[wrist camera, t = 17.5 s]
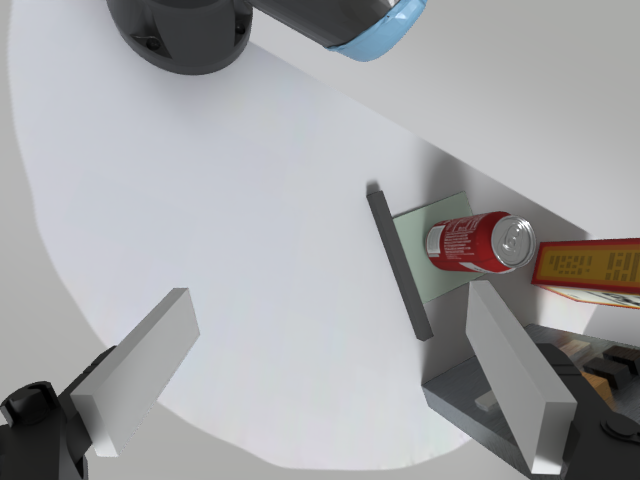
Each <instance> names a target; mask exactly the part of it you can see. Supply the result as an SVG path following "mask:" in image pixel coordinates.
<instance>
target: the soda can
mask: <svg viewBox="0 0 640 480" xmlns="http://www.w3.org/2000/svg"><path fill="white" fill-rule="evenodd" d="M535 249H536V237H535V233H534V231H533V228H532V227H531V225H530V224H529V222H528V221H527V220H525V219H524V218H522V217H520V216H517V215H511V214H509V213H506V212H501V211H498V212H491V213H485V214H480V215H474V216H468V217H462V218H456V219H451V220H445V221H440V222H438V223H436V224H434V225H433V226H432V227H431V228H430V230H429V231H428V233H427V235H426V239H425V251H426V254H427V257H428V259H429V260H430V262H431V263H432V264H433V265H434V266H435V267H437V268H438V269H441V270H445V271H461V272H480V273H499V274H503V273H509V272H511V271H513V270H515V269H516V268H520V267H523V266H525V265H526V264H528V263H529V262H530V260H531V259H532V257H533V255H534V253H535Z"/></svg>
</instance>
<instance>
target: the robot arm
mask: <svg viewBox="0 0 640 480" xmlns="http://www.w3.org/2000/svg"><path fill="white" fill-rule="evenodd" d="M106 1H107V5H108V8H109V11H110V13H111V15H112V18H113V20H114V22H115V24H116V27H117V28H118V30H119V32H120V34H121V35H122V37H123V38H124V40H125V41H126V42H127V43H128V45H129V46H130V47H131V48H132V49H133V50H134V51H135V52H136V53H137V54H139V55H140V56H141V57H142V58H144V59H145V60H147V61H148V62H150V63H151V64H153V65H155V66H157V67H159V68H161V69H164V70H167V71H170V72H173V73H177V74H183V75H204V74H209V73H213V72H216V71H218V70H221V69H223V68H225V67H227V66H228V65H230V64H231V63H232V62H233V61H235V60H236V59H237V58H238V57H239V55H240V54H241V53H242V52H243V50H244V48H245V47H246V45H247V42H248V40H249V36H250V32H251V25H252V17H253V8H252V7H255V8H257V9H258V10H260V11H262V12H264V13H265V14H267V15H269V16H271V17H273V18H274V19H276V20H278V21H280V22H281V23H283V24H285V25H287V26H288V27H290V28H292V29H294V30H296V31H298V32H299V33H301V34H303V35H304V36H306V37H308V38H310V39H312V40H313V41H315V42H317V43H319V44H320V45H322V46H323V47H324V48H325V49H328V50H329V51H336V52H339V53H341V54H343V55H345V56H347V57H350V58H352V59H354V60H356V61H361V62H366V61H371V60H374V59H376V58H379V57H380V56H382V55H383V54H385V53H386V52H387V51H389V50H390V49H391V48H392V47H393V46H394V45H395V44H396V43H397V42H398V41H399V40H400V39H401V38H402V37H403V36H404V35H405V33H406V32H407V31H408V30H409V29H410V28H411V26H412V25H413V24H414V23H415V21H416V20H417V19H418V17H419V16H420V15H421V13H422V12H423V10H424V8H425V6H426V2H427V0H106ZM466 335H467V337H468V339H469V341H470V343H471V345H472V348H473V350H474V352H475V354H476V356H477V358H478V360H479V362H480V365H481V367H482V369H483V371H484V373H485V375H486V377H487V380H488V382H489V384H490V386H491V388H492V390H493V392H494V395H495V397H496V399H497V401H498V403H499V405H500V407H501V410H502V412H503V414H504V416H505V418H506V420H507V422H508V424H509V427H510V429H511V431H512V433H513V435H514V437H515V439H516V442H517V444H518V446H519V448H520V450H521V452H522V454H523V457H524V459H525V461H526V463H527V465H528V467H529V469H530V472H531V473H536V474H560V471H561V467H562V463H563V461H564V462H565V464H566V466H567V468H568V470H567V473H566V476H565V478H564V480H640V425H639V424H638V423H637V422H635V421H634V420H632V419H630V418H628V417H626V416H624V415H622V414H619V413H616V412H613V411H612V410H611V408H610V407H609V406H608V405H607V404H606V402H605V401H604V400H603V399H602V397H601V396H600V395H599V394H598V393H597V391H596V390H595V389H594V388H593V387H592V385H591V384H590V383H589V382H588V380H587V379H586V378H585V377H584V376H582V373H581V372H580V371H579V370H578V368H577V367H575V366H574V363H573V362H572V361H571V360H570V359H569V357H568V356H567V355H566V354H565V353H564V352H563V351H561V350H560V349H558V348H557V347H555V346H554V345H552V344H551V343H534V342H533V341H532V340H531V338H530V337H529V335H528V334H527V333H526V331H525V330H524V329H523V327H522V326H521V324H520V323H519V322H518V320H517V319H516V318H515V316H514V315H513V314H512V312H511V311H510V309H509V308H508V307H507V305H506V304H505V303H504V301H503V300H502V298H501V297H500V296H499V294H498V293H497V292H496V290H495V289H494V287H493V286H492V285H491V283H490V282H489V281H488V280H481V281H470V286H469V298H468V310H467V322H466ZM199 336H200V332H199V328H198V324H197V320H196V316H195V312H194V308H193V304H192V300H191V296H190V292H189V288H173V289H172V290H171V291H170V292H169V293H168V294H167V296H166V297H165V298H164V299H163V300H162V301H161V302H160V303H159V304H158V305H157V306H156V307H155V308H154V309H153V310H152V311H151V312H150V313H149V314H148V315H147V316H146V317H145V318H144V319H143V320H142V321H141V322H140V323H139V324H138V325H137V326H136V327H135V328H134V329H133V330H132V331H131V332H130V333H129V334H128V335H127V336H126V337H125V338H124V339H123V341H122V342H121V343H120V344H119V345H118V346H113V347H111V348H109V349H108V350H106V351H105V352H103V353H102V354H100V355H99V356H98V357H97V358H96V359H95V360H94V361H93V362H92V364H91V366H88V367H87V368H86V369H85V370H84V371H83V374H80V375H79V376H78V377H77V378H76V379H75V380H74V381H73V382H72V383H71V384H70V385H69V386H68V387H67V388H66V389H65V390H64V391H63V392H62V393H61V394H60V395H59V396H58V397H57V395H56V393H55V391H54V389H53V387H52V385H51V383H50V382H47V381H41V382H35V383H32V384H29V385H26V386H24V387H22V388H20V389H18V390H17V391H15V392H14V393H12V394H11V395H9V396H8V397H7V398H6V399H5V400H4V401H3V402H2V404H1V406H0V410H1V412H2V414H3V415H4V417H5V419H6V421H7V422H8V424H5V425H1V426H0V480H88V463H87V459H86V457H85V455H84V454H85V452H86V451H87V450H88V448H89V447H90V446H91V444H92V445H93V447H94V449H95V451H96V453H97V456H105V457H119V455H120V454H121V452H122V451H123V449H124V448H125V446H126V445H127V443H128V442H129V440H130V439H131V437H132V436H133V434H134V433H135V431H136V430H137V428H138V427H139V425H140V424H141V422H142V421H143V419H144V418H145V416H146V415H147V413H148V412H149V410H150V409H151V407H152V406H153V405H154V403H155V402H156V400H157V399H158V397H159V396H160V394H161V393H162V391H163V390H164V388H165V387H166V385H167V384H168V382H169V381H170V379H171V378H172V376H173V375H174V373H175V372H176V370H177V369H178V367H179V366H180V364H181V363H182V361H183V360H184V358H185V357H186V355H187V354H188V352H189V351H190V349H191V348H192V346H193V345H194V343H195V342H196V340H197V339H198V337H199Z"/></svg>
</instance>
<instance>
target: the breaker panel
mask: <svg viewBox="0 0 640 480" xmlns="http://www.w3.org/2000/svg"><path fill="white" fill-rule="evenodd" d="M523 329H524V330H525V331H526V333H527V334H528V335H529V337H530V338H531V340H532V341H533V342H534V343H551V344H552V345H554V346H555V347H557V348H558V349H560V350H561V351H563V352H564V353H565V354H566V355H567V356H568V357H569V359H570V360H571V361H572V362H573V363H574V366H575V367H577V368H578V370H579V371H580V372H581V373H582V376H584V377H585V378H586V379H587V380H588V382H589V383H590V384H591V385H592V387H593V388H594V389H595V390H596V391H597V393H598V394H599V395H600V396H601V397H602V399H603V400H604V401H605V402H606V404H607V405H608V406H609V407H610V408H611V410H612V411H613V412H616V413H619V414H622V415H624V416H626V417H628V418H630V419H632V420H634V421H635V422H637V423H638V424H639V425H640V347H636V346H632V345H628V344H623V343H618V342H614V341H609V340H604V339H600V338H595V337H590V336H586V335H581V334H577V333H572V332H567V331H563V330H558V329H553V328H549V327H544V326H539V325H535V324H530V325H529V326H527V327H525V328H523ZM422 389H423V392H424V395H425V398H426V400H427V403H428V406H429V407H430V408H431V409H433V410H434V411H436V412H437V413H438V414H440V415H441V416H443V417H444V418H445V419H447V420H448V421H450V422H451V423H452V424H454V425H455V426H456V427H458V428H459V429H461V430H462V431H463V432H465V433H466V434H468V435H469V436H470V437H472V438H473V439H475V440H476V441H477V442H479V443H480V444H482V445H483V446H485V447H486V448H487V449H488V450H490V451H491V452H493V453H494V454H495V455H497V456H498V457H500V458H501V459H503V460H504V461H505V462H507V463H508V464H509V465H511V466H512V467H513V468H515V469H516V470H518V471H519V472H520V473H522V474H523V475H524V476H526V477H527V478H529V479H530V480H564V478H565V476H566V473H567V470H568V468H567V466H566V464H565V462H564V461H563V463H562V467H561V471H560V474H536V473H531V472H530V469H529V467H528V465H527V463H526V461H525V459H524V457H523V454H522V452H521V450H520V448H519V446H518V444H517V442H516V439H515V437H514V435H513V433H512V431H511V429H510V427H509V424H508V422H507V420H506V418H505V416H504V414H503V412H502V410H501V407H500V405H499V403H498V401H497V399H496V397H495V395H494V392H493V390H492V388H491V386H490V384H489V382H488V380H487V377H486V375H485V373H484V371H483V369H482V367H481V365H480V362H479V360H478V358H477V356H476V355H475V356H473V357H472V358H470V359H468V360H466V361H465V362H463V363H461V364H459V365H457V366H456V367H454V368H452V369H450V370H448V371H447V372H445V373H443V374H441V375H440V376H438V377H436V378H434V379H432V380H431V381H429V382H427V383H425V384H424V385H422Z"/></svg>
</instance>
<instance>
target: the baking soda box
mask: <svg viewBox="0 0 640 480" xmlns="http://www.w3.org/2000/svg"><path fill="white" fill-rule="evenodd" d="M531 284H533V285H536V286H538V287H541V288H544V289H546V290H549V291H551V292H554V293H556V294H559V295H562V296H564V297H567V298H569V299H572V300H574V301H577V302H584V303H592V304H600V305H608V306H616V307H625V308H632V309H640V238H628V239H627V238H626V239H604V240H582V241H560V242H540V247H539V251H538V255H537V260H536V264H535V268H534V273H533V277H532V281H531Z"/></svg>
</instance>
